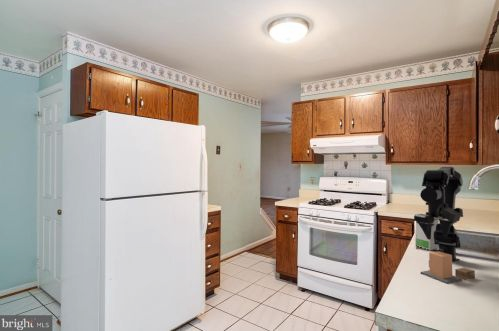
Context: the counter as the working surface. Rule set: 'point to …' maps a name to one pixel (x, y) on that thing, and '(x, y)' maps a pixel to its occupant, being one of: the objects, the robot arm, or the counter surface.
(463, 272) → the walnut block
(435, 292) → the counter surface
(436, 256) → the terracotta block
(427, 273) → the charcoal mat
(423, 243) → the skincare box
